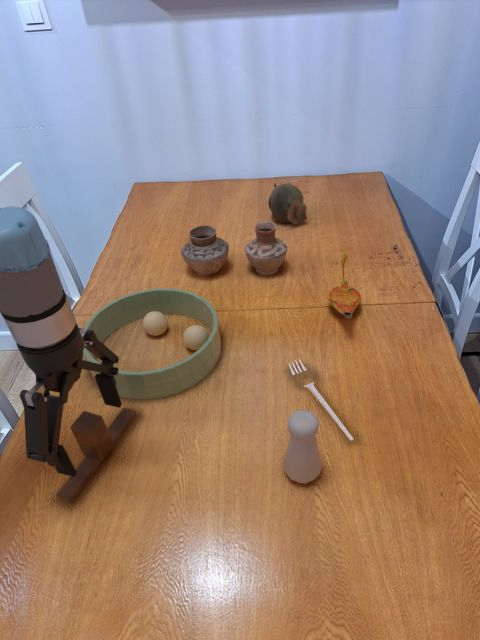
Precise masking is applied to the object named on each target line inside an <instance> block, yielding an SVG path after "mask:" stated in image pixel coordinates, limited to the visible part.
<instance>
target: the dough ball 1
mask: <svg viewBox="0 0 480 640" xmlns="http://www.w3.org/2000/svg"><path fill="white" fill-rule="evenodd" d="M168 326H169V322H168V319H167V316H166V314H162V313H161V312H158V311H152V312H149V313H148V314H147V315H146V316H145V317H144V318H142V328H143V330H144V331H145V332H146V333H147V334H148V335H150V336H153V337H156V336H161V335H163V334H164V333H165V332H166V331H167V330H168Z"/></svg>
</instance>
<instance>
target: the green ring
mask: <svg viewBox="0 0 480 640" xmlns="http://www.w3.org/2000/svg"><path fill="white" fill-rule="evenodd" d="M152 311H158V312H161V313H162V314H164V315H179V316H185V317H188V318H192V319H195V320H197V321H199V322H201V323H203V324H204V325H205V326H207V328H208V329H210V330H211V332H210V335H209V338H208V340H207V341H206V342H205V343H204V345H203V346H202V347H201V348H200V349H199V350H195V351H194V352H193V353H192V354H190V355H189V356H188V357H186V358H184V359H181V360H180V361H177V362H176V363H173V364H170V365H168V366H164V367H161V368H157V369H150V370H144V371H134V370H133V371H132V370H131V371H128V370H127V371H126V370H122V369H118V370H119V371H118V374H117V375H114V377H115V380H116V388H117V391H118V394H119V397H120V398H124V399H130V400H154V399H155V400H156V399H162V398H165V397H169V396H172V395H175V394H176V395H177V394H178V393H182V392H183V391H186V390H187V389H189V388H191V387H193V386H195V385H197V384H198V383H199V382H200V381H202V380H203V379H204V378H206V377H207V376H208V375H209V374H210V372H211V371H212V370H213V369H214V368H215V366H216V364H217V363H218V361H219V359H220V357H221V351H222V340H221V333H220V327H219V320H218V313H217V311H216V310H215V308H214V306H213V304H212V303H210V302H209V301H208V300H207V299H206V298H205V297H203V296H201V295H199V294H196V293H195V292H192V291H189V290H186V289H180V288H171V287H167V288H166V287H164V288H162V287H160V288H158V287H156V288H150V289H143V290H139V291H135V292H131V293H127V294H126V295H122V296H120V297H118V298H116V299H114V300H112V301H110V302H109V303H107V304H105V305H104V306H102V307H100V309H98V310H97V311H96V312H95V313H94V314H93V315H92V316H91V317H90V319H89V320H88V321H87V322H86V323H85V326H84V328H83V329H88V330H93V331H94V333H95V335H96V337H97V339H98V340H99V341H100V342H101V343H103V344H104V342H105V340H106V339H107V338H108V337H109V336H111V335H112V334H113V333H114V332H115V331H117V330H118V329H120V328H122V327H124V326H126V325H128V324H130V323H132V322H134V321H136V320H140V319H144V317H145V316H146V315H147V314H148V313H149V312H152ZM83 357H84V358H85V361H89V362H93V363H98V364H101V362H99V361H98V360H96V356H95V355H93V354H92V353H91V352H90V351H88V350H87V349H86V348H84V351H83ZM90 373H91V376H92V378H93V380H95V381H94V382H96V379H95V376H96V374H100V372H96V371H90Z"/></svg>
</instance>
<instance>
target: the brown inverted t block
mask: <svg viewBox="0 0 480 640" xmlns="http://www.w3.org/2000/svg"><path fill="white" fill-rule="evenodd" d="M137 416H138V415H137V412H136V411H135V410H132V409H129V408H126V407H123V408H122V409H121V410H120V412H119V414H118V415H117V416H116V417H115V419H114V420H113V421H112V422H111V424H110V425H109V426H108V427H107V425H106V423H105V420H104V418H103V416H102V415H99V414H96V413H93V412H89V411H86V410H83V411H82V412H81V413H80V414H79V416H78V417H77V418H76V419H75V420H74V421H73V423H72V424H71V425H70V427H69V429H70V430H71V432H72V434H73V436H74V438H75V441H76V442H77V445H78V447H79V450H80V451H81V453H82V455H83V456H84V458H83V460H82V461H81V462H80V464H79V465H78V466H77V467H76V468H75V470H76V472H77V474H76V475H75V477H72V476H69V478H68V479H67V480H66V482H65V483H64V484H63V485H62V487H61V488H60V489H59V491H58V492H57V493H56V498H57V499H58V500H59V501H62V502H64V503H67V504H70V505H73V503H74V502H75V501H76V499H77V498H78V496H79V495H80V494H81V492H82V491H83V490H84V489H85V487H86V486H87V485H88V483H89V482H90V481H91V479H92V478H93V476H94V475H95V473H96V472H97V471H98V470H99V468H100V467H101V466H102V464H103V463H104V461H105V460H106V459H107V457H108V456H109V454H111V452H112V450H113V449H114V448H115V446H117V443H119V441H120V440H121V438H122V437H123V436H124V435H125V433H126V432H127V430H128V429H129V427H130V426H131V425H132V423H133V422H134V421H135V419H136V418H137Z"/></svg>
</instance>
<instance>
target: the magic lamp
mask: <svg viewBox="0 0 480 640" xmlns="http://www.w3.org/2000/svg"><path fill="white" fill-rule="evenodd" d="M341 258H342V259H341V260H340V262H341V263H340V266H341V268H340V269H341V278H342V281H341V282H340V284H341V285H339V286H337V287H333V288H332V289H331V290H330V291H329V292H328V295H327V301H328V303H329V304H330V306H332V307H333V309H335V310H336V311H337V312H338V314H341V315H342V316H343V317H344V318H345V319H352V318H353V314H354V312H355V311H356V309H357V307H358V306H359V305H360V303H361V301H362V295H361V293H360V292H359V290H357V289H356V288H354V287H351V286H350V285H349V284H350V282H348V280H346V279H345V265H346V261H347V260H348V258H349V254H348V253H347V252H346V251H343V252H342V254H341Z"/></svg>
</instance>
